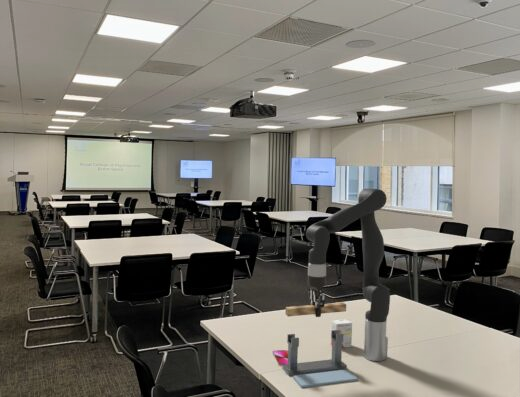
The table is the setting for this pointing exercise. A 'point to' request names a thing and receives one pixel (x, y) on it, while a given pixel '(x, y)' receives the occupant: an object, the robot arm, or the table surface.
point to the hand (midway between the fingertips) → (316, 315)
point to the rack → (314, 366)
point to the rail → (311, 309)
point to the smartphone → (281, 357)
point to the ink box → (343, 331)
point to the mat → (324, 378)
